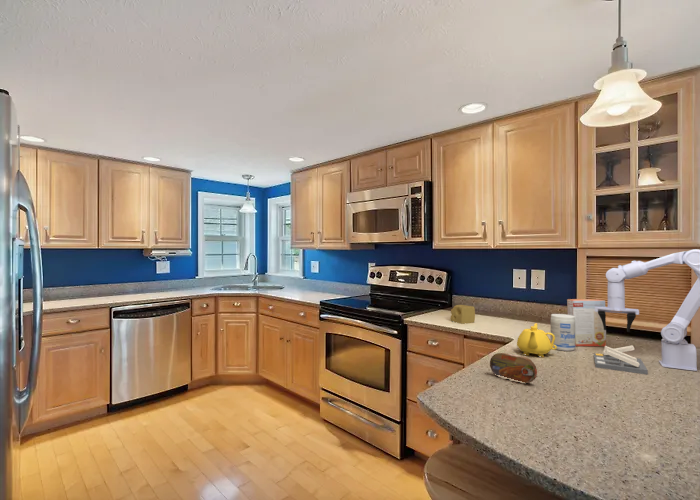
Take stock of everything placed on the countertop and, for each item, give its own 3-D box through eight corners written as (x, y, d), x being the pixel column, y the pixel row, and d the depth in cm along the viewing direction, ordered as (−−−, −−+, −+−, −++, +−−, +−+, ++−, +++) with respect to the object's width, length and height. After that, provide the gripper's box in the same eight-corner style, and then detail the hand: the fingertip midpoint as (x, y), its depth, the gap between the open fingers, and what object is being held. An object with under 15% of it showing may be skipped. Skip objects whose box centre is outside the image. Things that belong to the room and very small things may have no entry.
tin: (489, 375, 125) (489, 351, 126) (494, 373, 128) (493, 349, 128) (534, 387, 114) (534, 360, 114) (538, 385, 116) (538, 358, 116)
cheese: (450, 321, 225) (450, 305, 225) (463, 320, 229) (463, 304, 229) (462, 324, 215) (461, 307, 215) (475, 322, 220) (475, 306, 220)
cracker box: (598, 343, 168) (598, 298, 168) (606, 347, 162) (606, 300, 162) (567, 343, 170) (566, 298, 170) (573, 346, 164) (573, 300, 164)
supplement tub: (563, 352, 154) (563, 317, 154) (545, 346, 163) (545, 314, 163) (581, 350, 157) (580, 316, 157) (562, 345, 166) (562, 313, 166)
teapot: (556, 363, 139) (556, 333, 139) (514, 357, 146) (513, 329, 147) (557, 351, 156) (557, 324, 156) (519, 346, 164) (519, 321, 164)
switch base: (640, 362, 139) (640, 354, 139) (647, 374, 126) (647, 365, 126) (593, 356, 147) (593, 348, 147) (595, 367, 134) (595, 358, 134)
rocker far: (633, 348, 140) (632, 345, 140) (634, 349, 138) (633, 346, 138) (604, 353, 145) (603, 350, 145) (604, 355, 142) (603, 352, 143)
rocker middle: (634, 361, 135) (636, 358, 135) (635, 362, 133) (637, 359, 132) (604, 348, 140) (605, 345, 140) (604, 349, 138) (605, 347, 137)
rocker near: (637, 365, 130) (638, 362, 130) (638, 367, 128) (639, 364, 127) (605, 352, 135) (606, 349, 134) (605, 353, 133) (606, 350, 132)
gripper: (595, 297, 149) (595, 330, 148) (640, 299, 141) (640, 334, 141) (594, 295, 155) (594, 327, 154) (637, 297, 147) (637, 331, 147)
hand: (616, 330), depth 148 cm, fingers open, 7 cm apart
